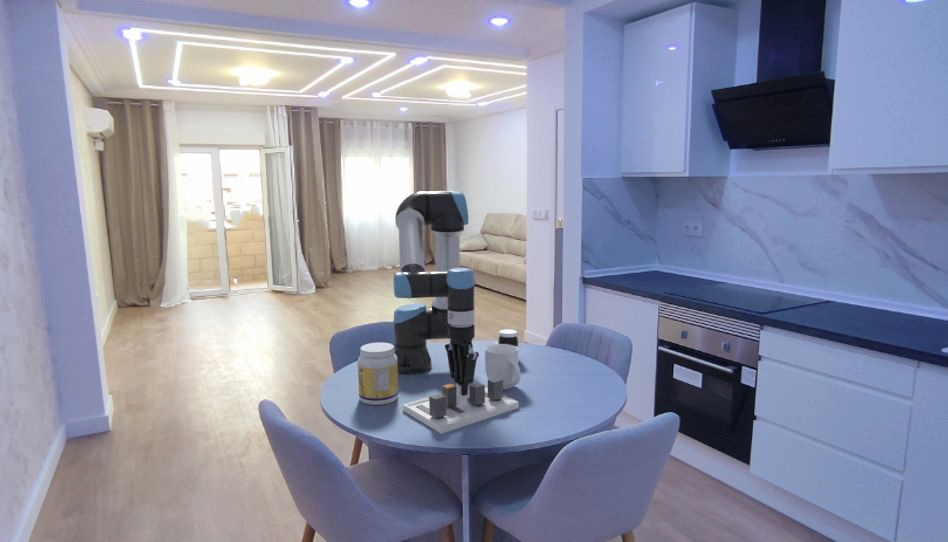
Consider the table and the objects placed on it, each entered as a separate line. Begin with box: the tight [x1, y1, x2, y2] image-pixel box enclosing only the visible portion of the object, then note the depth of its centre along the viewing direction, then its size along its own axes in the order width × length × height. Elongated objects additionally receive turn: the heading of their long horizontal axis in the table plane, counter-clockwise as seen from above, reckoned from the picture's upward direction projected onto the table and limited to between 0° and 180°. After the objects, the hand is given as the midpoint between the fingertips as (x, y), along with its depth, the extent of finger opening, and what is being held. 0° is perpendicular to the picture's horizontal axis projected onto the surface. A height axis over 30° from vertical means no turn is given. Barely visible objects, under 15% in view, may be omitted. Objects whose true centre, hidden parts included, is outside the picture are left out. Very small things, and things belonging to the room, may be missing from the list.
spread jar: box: [492, 329, 519, 349], centre depth 210 cm, size 12×11×12 cm
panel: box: [402, 385, 519, 435], centre depth 163 cm, size 20×28×2 cm
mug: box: [484, 344, 522, 391], centre depth 180 cm, size 15×11×13 cm
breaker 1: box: [429, 392, 446, 418], centre depth 153 cm, size 3×4×6 cm
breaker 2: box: [441, 383, 457, 408], centre depth 160 cm, size 3×4×6 cm
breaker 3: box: [468, 382, 486, 406], centre depth 162 cm, size 3×4×6 cm
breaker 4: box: [487, 377, 504, 400], centre depth 166 cm, size 3×4×6 cm
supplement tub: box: [357, 341, 399, 406], centre depth 171 cm, size 12×12×17 cm
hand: (461, 404), depth 156 cm, fingers closed
